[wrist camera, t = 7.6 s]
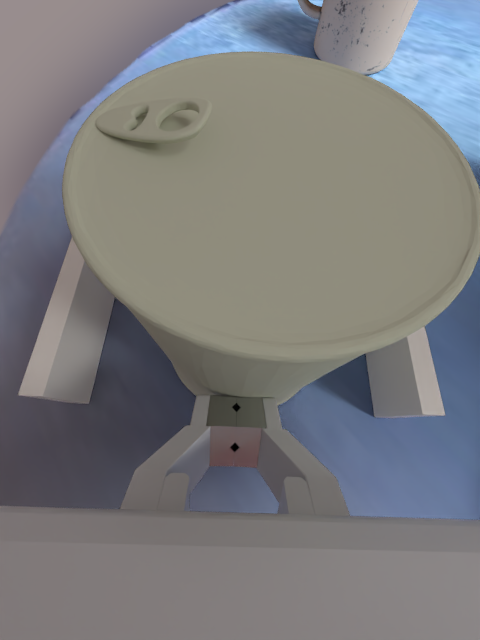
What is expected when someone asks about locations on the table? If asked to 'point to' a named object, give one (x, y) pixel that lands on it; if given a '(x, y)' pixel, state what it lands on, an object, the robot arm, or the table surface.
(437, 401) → the tray
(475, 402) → the table surface
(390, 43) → the teacup with lid
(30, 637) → the robot arm
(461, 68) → the table surface
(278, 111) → the can
